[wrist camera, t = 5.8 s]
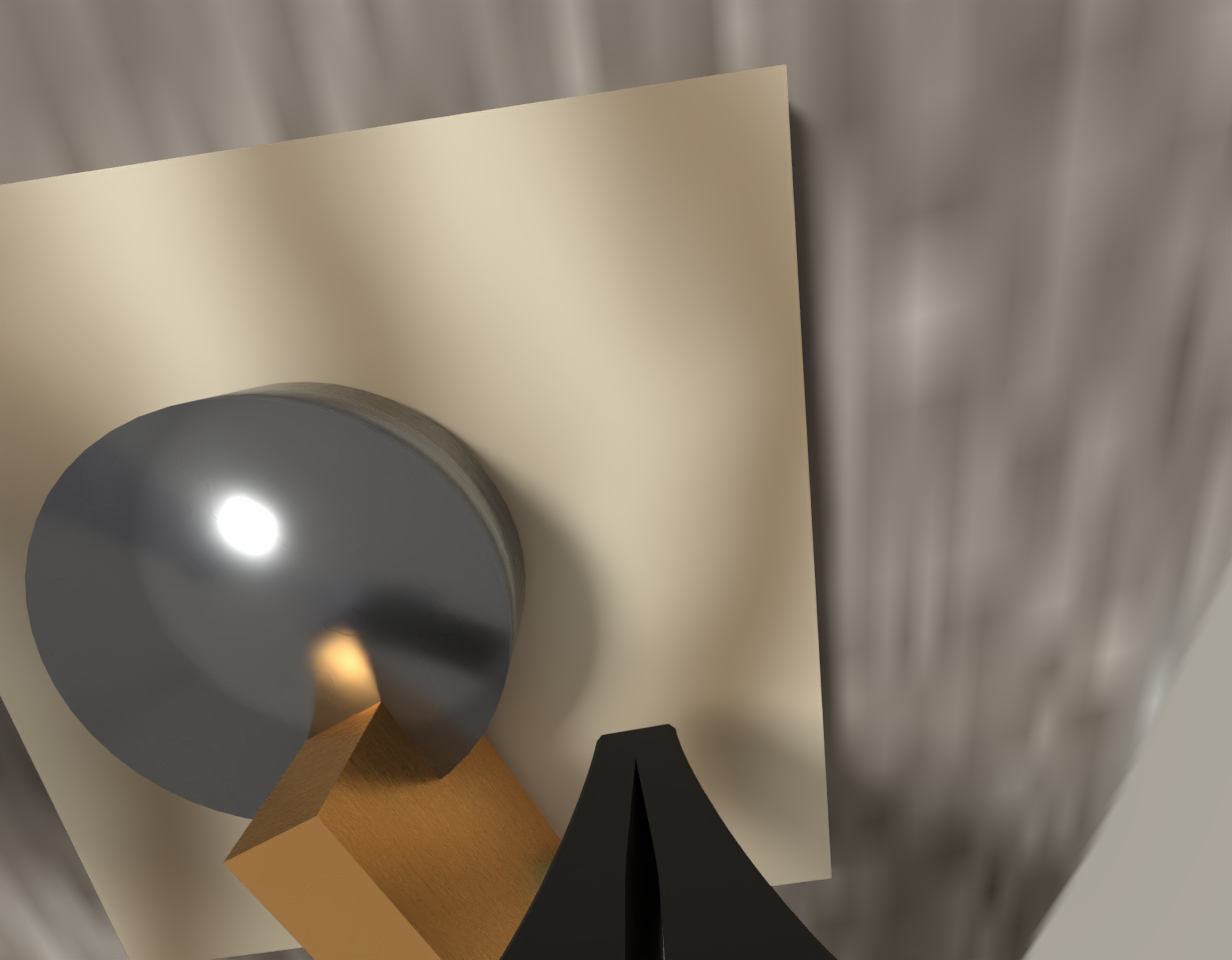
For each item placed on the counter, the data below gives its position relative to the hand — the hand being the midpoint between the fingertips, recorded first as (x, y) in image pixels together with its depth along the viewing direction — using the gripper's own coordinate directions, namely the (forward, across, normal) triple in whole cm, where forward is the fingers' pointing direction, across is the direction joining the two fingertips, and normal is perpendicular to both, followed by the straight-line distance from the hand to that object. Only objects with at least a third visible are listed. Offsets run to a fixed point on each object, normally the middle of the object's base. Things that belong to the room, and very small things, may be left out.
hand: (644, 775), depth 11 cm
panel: (+4, +5, -3) cm, 7 cm away
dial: (+2, +5, -1) cm, 6 cm away
